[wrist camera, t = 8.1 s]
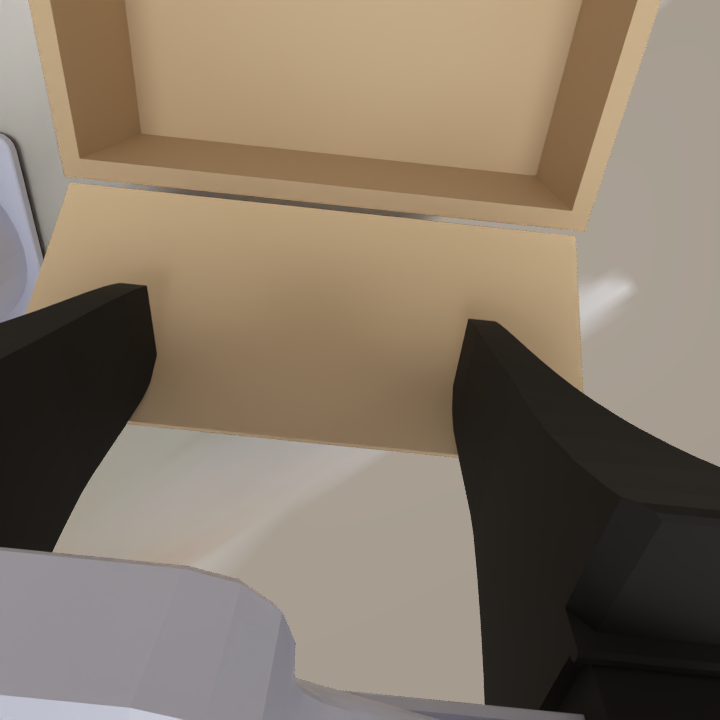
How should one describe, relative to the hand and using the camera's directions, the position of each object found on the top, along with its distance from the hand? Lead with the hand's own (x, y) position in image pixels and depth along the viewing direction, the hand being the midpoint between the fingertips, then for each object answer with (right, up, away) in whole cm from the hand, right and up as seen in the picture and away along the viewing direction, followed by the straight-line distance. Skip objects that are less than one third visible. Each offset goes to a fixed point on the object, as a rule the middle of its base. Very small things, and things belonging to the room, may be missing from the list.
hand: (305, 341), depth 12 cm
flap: (0, +1, +1) cm, 1 cm away
